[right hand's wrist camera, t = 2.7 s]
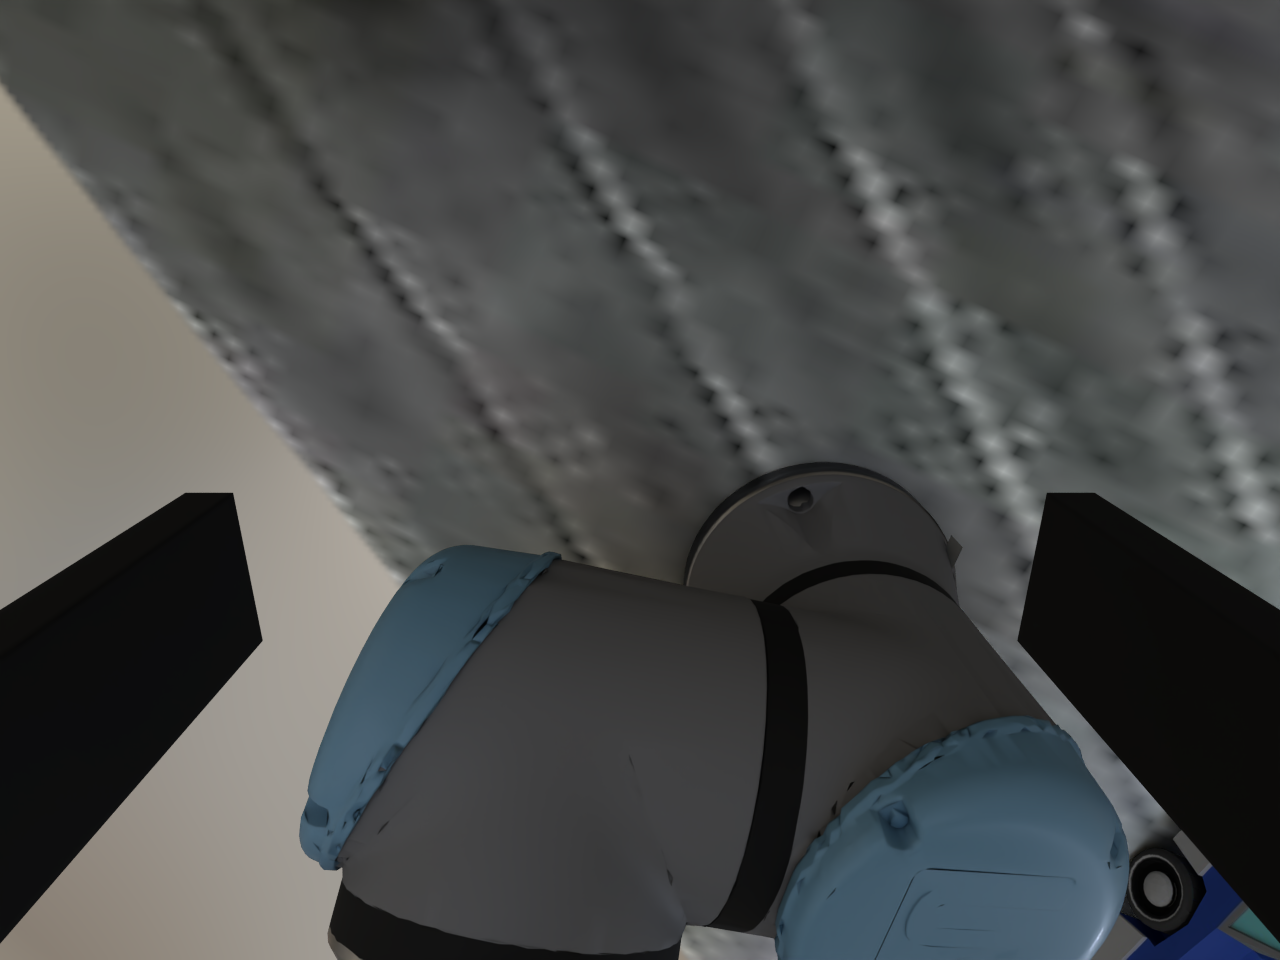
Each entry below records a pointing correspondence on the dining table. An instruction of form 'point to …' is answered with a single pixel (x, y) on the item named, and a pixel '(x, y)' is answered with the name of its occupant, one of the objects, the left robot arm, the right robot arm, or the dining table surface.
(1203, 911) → the toy car
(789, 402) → the dining table surface
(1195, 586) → the right robot arm
